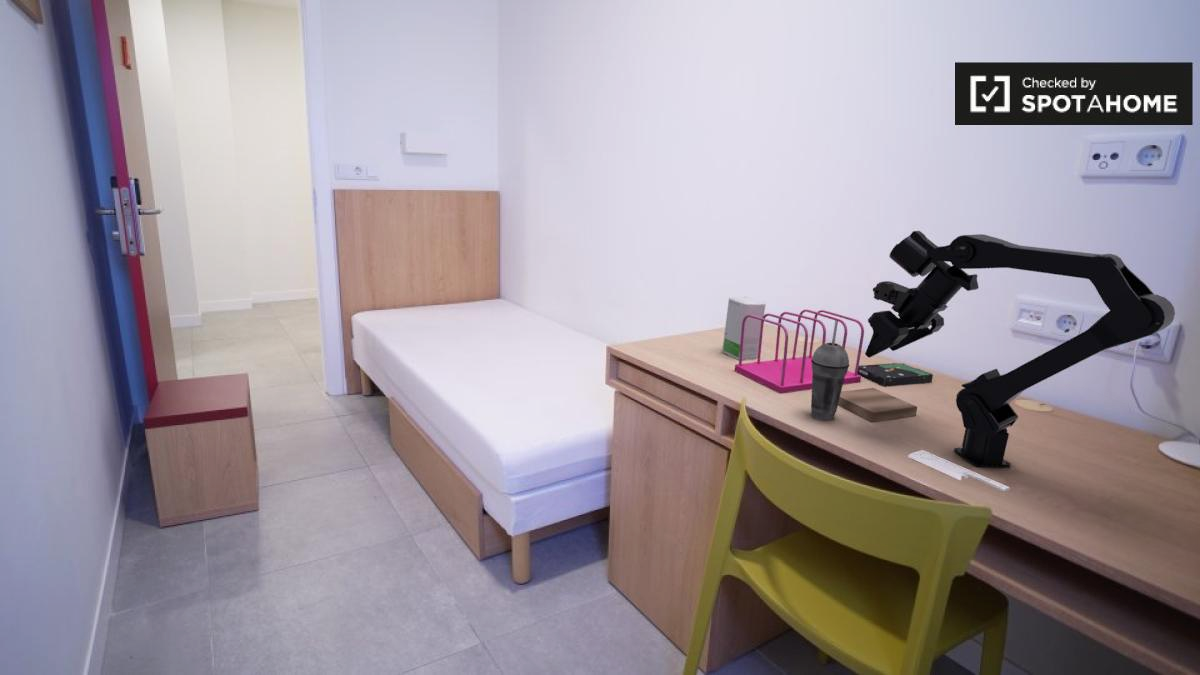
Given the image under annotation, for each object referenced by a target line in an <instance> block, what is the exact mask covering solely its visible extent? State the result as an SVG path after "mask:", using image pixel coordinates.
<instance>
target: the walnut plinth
mask: <svg viewBox="0 0 1200 675" xmlns="http://www.w3.org/2000/svg"><path fill="white" fill-rule="evenodd" d="M838 407H841V408H843V409H845V410H847V411H849V412H852V414H855V415H857V416H859V417H861V418H863V419H865V420H867V421H869V422H871V423H873V422H874V423H875V422H879V421H881V422H882V421H886V420H887V421H888V420H894V419H902V418H907V417H915V416H917V412H918V406H916V405H914V404H913V403H912V404H911V403H910V402H907V401H905V400H903V399H901V398H898V397H895V396H893V395H891V394H889V393H887V392H884V391H882V390H880V389H877V388H875V387H870V388H869V387H868V388H859V389H853V390H844V391H843V390H841V394H840V398H839V402H838Z"/></svg>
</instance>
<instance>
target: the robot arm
mask: <svg viewBox="0 0 1200 675" xmlns="http://www.w3.org/2000/svg"><path fill="white" fill-rule="evenodd" d="M889 258H890V259H891V260H892V261H893V262H894V263H896V265H898V266H899V267H900V268H901V269H903V270H904V272H906V273H907V274H909V275H910V276H911V277H913V278H914V277H918V276H920V277H925V278H924V279H923V280H921V282H920V283H919V284H918V285H917V286H916V287H911V288H909V287H907V286H904V285H901V284H899V283H896V282H893V281H890V280H888V281H887V280H886V281H879V282H877V284H876V286H875V287H873V288H872V291H873V298H874V299H875V300H876V301H883V302H884V303H887V304H890V305H892V306H891V308H890V309H891V310H893V311H894V312H895V313H897V315H895V314H894V313H893V311H891V310H880V311H877V312H872V314H871V316H870V317H868V319H867V322H868V324H869V326H870V327H871V328H872V332H873V333H872V335H871V338H870V341H869V343H868V345H867V348H866V351H865V353H864V354H865V356H866V357H868V358H872V357H874V356H875V355H879V354H880V353H882V352H885V351H886V350H888V349H890V350H891V351H892V352H894V351H897V350H899V349H901V348H903V347H905V346H909V345H910V344H913V343H915V342H918V341H920V340H922V339H924V338H926V337H929V336H931V335H933V334H935V333H938V332H939V331H940V330H941V329H942V327H944V326H945V320H944V317H943V316H941V315H940V314H939V313H940V312H944V311H945V310H946V309H947V308H948V307H949V306H948V305H947V304H948V303H949V302H950V301H951V299H952V298H954V296H955V295H956V294H957V293H958V292H960V290H961V289H962V288H963V289H965V290H966V291H967V292H970V291H975V290H978V289H979V287H980V286H979V282H978V275H977V274H976V273H973V274H969V273H967V272H966V271H965V270H971V269H972V270H973V269H974V270H975V269H1005V268H1006V269H1013V270H1014V269H1015V270H1021V271H1027V272H1028V271H1030V272H1034V273H1035V272H1036V273H1043V274H1051V275H1057V276H1065V277H1072V278H1079V279H1087V280H1089V281H1090V283H1091V284H1092V285H1093V286H1094V288H1095V290H1096V292H1097V293H1098V295H1099V296H1100V298H1101V300H1102V302H1103V303H1104V305H1105V306H1106V307H1107V309H1108V310H1109V311H1107V312H1106V313H1105V314H1103V316H1101V317H1100V318H1099V319H1098V320H1097V321H1096V322H1094V323H1093V324H1092V325H1091V326H1090V327H1089V328H1087V329H1086V330H1084V331H1083V332H1081V333H1079V334H1078V335H1076V336H1074V337H1072V338H1070V339H1068V340H1066V341H1065V342H1063V343H1060V344H1058V345H1057V346H1055V347H1053V348H1052V349H1050V350H1047V351H1045V352H1044V353H1042V354H1040V355H1038V356H1036V357H1034V358H1032V359H1031V360H1029V361H1027V362H1026V363H1024V364H1021V365H1020V366H1018V367H1016V368H1014V369H1012V370H1011V371H1009V372H1007V373H1003V374H1001V373H1000V371H999V370H998V368H994V369H992V370H989V371H987V372H984V373H981V374H980V375H978V376H977V377H976V378H975V379H974V380H970V381H967V382H965V383H962V384H961V387H962V389H960V391H958V392H957V394H956V397H955V398H956V399H955V403H956V407H957V409H958V411H959V413H960V414H961V419H962V423H963V424H962V425H963V428H965V430H964V434H963V439H962V444H961V447H954V449H953V452H955V453H956V454H958V455H959V456H961V457H962V458H963V459H965V460H966V461H968V462H969V463H970V464H971V465H973V466H975V467H996V468H997V467H1000V468H1001V467H1002V468H1004V467H1007V468H1010V467H1011V463H1010V462H1009V461H1007V460H1006V459H1004V458H1005V454H1006V448H1007V444H1008V441H1009V437H1010V433H1009V432H1008V429H1007V428H1010V427H1012V426H1014V424H1016V421H1017V420H1018V419H1019V416H1018V414H1017V412H1016V411H1015V410H1014V409H1013V407H1012V406H1011V405H1010V403H1011V402H1012V401H1014V400H1016V398H1017V397H1019V395H1021V394H1022V393H1023V392H1025V391H1026V390H1027V389H1030V388H1031V387H1033V386H1035V385H1038V384H1039V383H1041V382H1043V381H1046V380H1047V379H1049V378H1052V377H1053V376H1055V375H1057V374H1059V373H1061V372H1063V371H1065V370H1067V369H1069V368H1071V367H1073V366H1075V365H1077V364H1079V363H1081V362H1083V361H1085V360H1087V359H1089V358H1091V357H1094V356H1095V355H1096V354H1099V353H1100V352H1103V351H1106V350H1108V349H1111V348H1115V347H1118V346H1121V345H1124V344H1128V343H1131V342H1133V341H1138V340H1140V339H1143V338H1146V337H1149V336H1152V335H1154V334H1157V333H1158V332H1160V331H1162V330H1165V329H1166V328H1167V327H1169V326H1170V325H1171V324H1172V323H1173V321H1174V318H1175V315H1176V312H1175V311H1176V310H1175V307H1174V305H1173V303H1172V302H1171V300H1168V299H1167V298H1166V296H1165V297H1164V296H1162V295H1159V294H1155V293H1154V292H1153V291H1152V290H1151V288H1150V287H1149V286H1148V285H1147V284H1146V283H1145V282H1144V281H1143V280H1141V278H1139V277H1138V275H1137V274H1135V273H1134V272H1133V271H1132V270H1130V268H1129V267H1128V266H1127V265H1126V264H1125V263H1124V261H1123V260H1122V259H1121V257H1119V256H1118V255H1116V254H1113V253H1102V254H1100V253H1091V252H1082V251H1073V250H1065V249H1064V250H1063V249H1054V248H1046V247H1039V246H1037V247H1036V246H1030V245H1029V246H1027V245H1020V244H1016V243H1012V242H1010V241H1007V240H1004V239H1003V238H998V237H994V236H991V235H988V234H982V233H981V234H963V235H962V234H961V235H958V236H957V237H956V238H955V239H953V240H952V241H951V242H950V244H947V245H944V246H941V245H940V246H938V245H936V244H935V243H934V242H933V241H932V240H930V239H929V238H927V236H926V235H925V234H924V233H923V232H922V231H921V230H913V231H912V232H911V233H910V235H908V236H906V237H905V238H903V239H902V240H901V241H900V242H899V243H896V244H895V245H894V247H892V249H891V251H890V253H889ZM947 262H948V263H949V262H950V263H951V265H950V264H948V263H947ZM897 316H898V317H897ZM930 326H931V327H930ZM929 327H930V328H929Z"/></svg>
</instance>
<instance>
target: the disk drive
mask: <svg viewBox="0 0 1200 675" xmlns="http://www.w3.org/2000/svg"><path fill="white" fill-rule="evenodd" d="M857 375H860V376H862V377H861V378H863V377H864V379H866V380H868V381H870V382H872V383H874V384H877V385H879V386H881V387H884V388H887V386H888V387H894V386H895V387H899V386H909V385H910V386H911V385H921V384H923V385H924V384H932V383H933V382H932V381H933V379H934V378H933V377H934V374H933V373H930V372H928V371H924V370H923V369H922V370H921V368H917V367H914V366H910V365H908V364H906V363H903V362H902V363H900V362H898V363H897V362H893V363H879V364H878V363H876V364H865V365H859V367H858V373H857Z"/></svg>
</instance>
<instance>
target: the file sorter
mask: <svg viewBox="0 0 1200 675" xmlns="http://www.w3.org/2000/svg"><path fill="white" fill-rule="evenodd" d="M805 312H807V313H810V314H814V317H810V316H806V315H803V314H804V313H805ZM785 315H788V316H793V317H798V318H797V320H794V319H791V318H788V317H783V316H785ZM818 316H820V317H823V318H827V319H830V320H833V321H834V322H835V321H838V323H840V324H841V325H842V326H843V329H844V331H843V332H844V334H843V339H842V347H843V348H844V349H845V350H846V343H847V337H848V327H847V323H846V322H845V321H844V320H843V319H845V320H848V321H851V322H855V323H857V324H858V326H859V327H860V339H859V344H858V351H857V357H856V362H855V363H856V364H855V368H854V372H853V371H849V370H848V371H847V373H846V376H845V378H844V382H843V385H849V384H855V383H861V380H862V377H861V376H860V375H857V373H858V367H859V366H860V360H861V354H862V349H863V348H862V347H863V342H864V337H865V327H864V325H863V323H862V322H861V321H860V320H858V319H855V318H853V317H849V316H845V315H842V314H839V313H836V312H832V311H828V310H825V309H821V310H818V311H814V310H811V309H803V310H802V311H800V312H799V313H795V312H790V311H784V312H782V313H780V314H779V315H777V314H774V313H764V316H763V317H762V318H760V317H757V316H753V315H747V316H745V317H744V319H743V321H742V330H741V342H740V356H739V360H738V364H735V365H734V371H735V372H736V373H739V374H741V375H743V376H745V377H747V378H749V379H751V380H753V381H755V382H756V383H759V384H761V385H763V386H765V387H767V388H769V389H770V390H773V391H775V392H777V393H778V394H786V393H794V392H800V391H801V392H802V391H807V390H812V376H813V371H812V362H811V360H812V358H813V348H814V340H815V334H816V333H815V332H816V325H817V323H818V324H820V326H821V327H822V343H821V345H823V344H826V340H827V338H826V337H827V328H826V325H825V324H824V322H823V321H822V320H820V319H818ZM748 317H751V318H755V319H758V320H761V328H760V338H759V348H758V359H757V360H756V361H754V362H747V363H746V362H745V363H742V362H743V360H742V352H743V339H744V327H745V321H746V319H747V318H748ZM767 317H773V318H776V319H778V322H776V321H773V320H769V319H768V318H767ZM838 317H839V318H838ZM766 318H767V319H766ZM841 318H842V319H841ZM801 319H805V320H810V321H813V323H812V330H811V340H810V346H809V354H808V355H807V351H808V350H807V349H808V342H809V341H808V340H809V331H808V328H807V326H806V325H805V324H804V323H802V322H801ZM782 320H783V321H786V322H789V323H793V324H796V331H795V337H794V344H793V352H792V357H790V358H789V357H788V354H787V353H788V343H789V333H788V332H789V331H788V329H787V328H786V327H785V325H784V324H782ZM765 322H766V323H769V324H772V325H774V326H775V325H776V326H777V332H776V333H777V334H776V344H775V354H774V355H775V357H774V359H773V360H772V359H771V360H764V361H761V353H762V345H763V343H762V342H763V333H764V324H765ZM800 326H801V327H802V328H803V331H804V342H803V343H804V345H803V352H802V356H800V357H796V352H797V347H798V346H797V345H798V339H799V334H800ZM781 328H782V330H783V332H784V335H785V336H784V337H785V338H784V348H783V350H784V351H783V358H781V359H779V358H778V357H779V350H780V349H779V348H780V347H779V346H780V338H781V337H780V336H781Z"/></svg>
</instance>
